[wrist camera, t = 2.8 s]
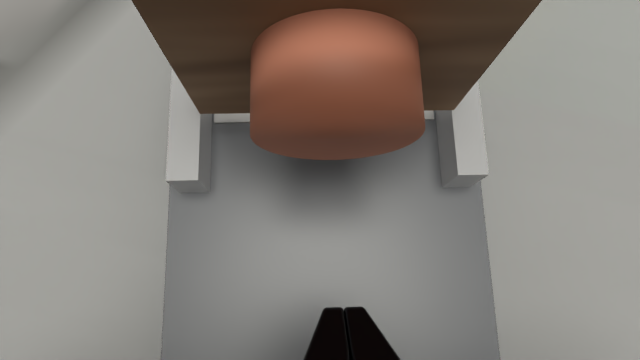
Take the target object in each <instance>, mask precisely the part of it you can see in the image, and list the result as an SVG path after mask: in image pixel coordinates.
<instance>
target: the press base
mask: <svg viewBox="0 0 640 360" xmlns="http://www.w3.org/2000/svg"><path fill="white" fill-rule="evenodd" d="M424 117H425V131H424V133H423V135H422V136H421V137H420V138H419V139H418V140H416V141H415V142H413V143H412V144H410V145H408V146H406V147H404V148H401V149H398V150H395V151H392V152H389V153H385V154H381V155H376V156H371V157H364V158H356V159H344V160H312V159H301V158H293V157H287V156H283V155H279V154H275V153H272V152H269V151H267V150H264V149H262V148H260V147H259V146H257V145H256V144H255V143H254V142H253V141H252V139H251V138H250V113H234V114H200V113H199V112H198V110H197V108H196V107H195V105H194V103H193V102H192V100H191V98H190V97H189V95H188V93H187V92H186V90H185V88H184V87H183V85H182V83H181V82H180V80H179V78H178V77H177V75H176V73H175V72H174V70H173V68H172V71H171V90H170V109H169V128H168V147H167V166H166V181H167V182H168V183H169V184H170V191H169V211H168V230H167V250H166V270H165V290H164V310H163V330H162V350H161V360H303V359H304V356H305V354H306V351H307V349H308V346H309V344H310V341H311V339H312V336H313V333H314V331H315V328H316V326H317V323H318V321H319V318H320V316H321V313H322V311H323V309H324V308H326V307H341V308H343V310H344V308H346V307H359V306H361V307H364V308H365V309H366V311H367V312H368V314H369V315H370V316H371V318H372V319H373V321H374V322H375V324H376V325H377V326H378V328H379V329H380V331H381V332H382V334H383V335H384V337H385V338H386V339H387V341H388V342H389V344H390V345H391V347H392V348H393V349H394V351H395V352H396V354H397V355H398V357H399V358H400V359H401V360H500V353H499V344H498V335H497V326H496V317H495V307H494V298H493V289H492V280H491V271H490V262H489V253H488V244H487V235H486V226H485V217H484V208H483V199H482V190H481V181H480V180H482V179H483V178H485V177H486V176H488V175H489V168H488V160H487V151H486V142H485V134H484V125H483V116H482V108H481V99H480V90H479V82H478V81H477V82H476V83H475V84H474V86H473V87H472V88H471V89H470V91H469V92H468V93H467V94H466V96H465V97H464V98H463V99H462V101H461V102H460V103H459V104H458V106H457V107H456V108H455V109H454V110H434V111H424Z"/></svg>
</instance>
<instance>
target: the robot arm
mask: <svg viewBox="0 0 640 360" xmlns="http://www.w3.org/2000/svg"><path fill="white" fill-rule="evenodd" d="M303 360H401V359H400V358H399V357H398V355H397V354H396V352H395V351H394V349H393V348H392V347H391V345H390V344H389V342H388V341H387V339H386V338H385V337H384V335H383V334H382V332H381V331H380V329H379V328H378V326H377V325H376V324H375V322H374V321H373V319H372V318H371V316H370V315H369V314H368V312H367V311H366V309H365V308H364V307H361V306H359V307H346V308H344V310H343V308H341V307H326V308H324V309H323V311H322V313H321V316H320V318H319V321H318V323H317V326H316V328H315V331H314V333H313V336H312V339H311V341H310V344H309V346H308V349H307V351H306V354H305V356H304V359H303Z"/></svg>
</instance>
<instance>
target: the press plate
mask: <svg viewBox="0 0 640 360" xmlns="http://www.w3.org/2000/svg"><path fill="white" fill-rule="evenodd" d="M541 1H542V0H132V2H133V3H134V5H135V7H136V8H137V10H138V12H139V13H140V15H141V17H142V18H143V20H144V22H145V23H146V25H147V27H148V28H149V30H150V32H151V33H152V35H153V37H154V38H155V40H156V42H157V43H158V45H159V47H160V48H161V50H162V52H163V53H164V55H165V57H166V58H167V60H168V62H169V63H170V65H171V67H172V68H173V70H174V72H175V73H176V75H177V77H178V78H179V80H180V82H181V83H182V85H183V87H184V88H185V90H186V92H187V93H188V95H189V97H190V98H191V100H192V102H193V103H194V105H195V107H196V108H197V110H198V112H199V113H200V114H234V113H250V138H251V139H252V141H253V142H254V143H255V144H256V145H257V146H259V147H260V148H262V149H264V150H267V151H269V152H272V153H275V154H279V155H283V156H287V157H293V158H301V159H312V160H344V159H356V158H364V157H371V156H376V155H381V154H385V153H389V152H392V151H395V150H398V149H401V148H404V147H406V146H408V145H410V144H412V143H413V142H415V141H416V140H418V139H419V138H420V137H421V136H422V135H423V133H424V131H425V117H424V111H434V110H454V109H455V108H456V107H457V106H458V104H459V103H460V102H461V101H462V99H463V98H464V97H465V96H466V94H467V93H468V92H469V91H470V89H471V88H472V87H473V86H474V84H475V83H476V82H477V81H478V79H479V78H480V77H481V76H482V74H483V73H484V72H485V71H486V69H487V68H488V67H489V66H490V64H491V63H492V62H493V61H494V59H495V58H496V57H497V56H498V54H499V53H500V52H501V51H502V49H503V48H504V47H505V46H506V44H507V43H508V42H509V41H510V39H511V38H512V37H513V36H514V34H515V33H516V32H517V31H518V29H519V28H520V27H521V26H522V24H523V23H524V22H525V21H526V19H527V18H528V17H529V16H530V14H531V13H532V12H533V11H534V9H535V8H536V7H537V6H538V5H539V3H540V2H541Z"/></svg>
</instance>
